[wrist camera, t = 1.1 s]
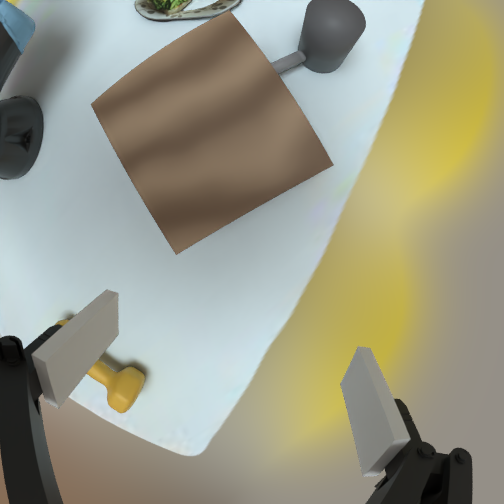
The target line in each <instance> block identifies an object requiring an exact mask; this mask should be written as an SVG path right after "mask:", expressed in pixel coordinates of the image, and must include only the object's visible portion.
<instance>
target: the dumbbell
mask: <svg viewBox="0 0 504 504" xmlns="http://www.w3.org/2000/svg"><path fill="white" fill-rule="evenodd" d="M68 321H70V320H61V321H58V322H57V323H56V324H55V325H57V324H60V325H62V326H64V325H65V324H66V323H67V322H68ZM87 374H88V375H89V376H91V377H92V378H93V379H95V380H96V381H98V382H100V383H102V384H103V385H104V386H105V387H106V388H107V392H108V394H107V401H108V404H109V406H110V407H111V408H113V409H114V410H116V411H117V412H119V413H124V412H126V411H127V410H129V409H130V408H131V406H132V405H133V404H134V402H135V400H136V399H137V397H138V395H139V394H140V392H141V390H142V387H143V385H144V382H145V376H144V374H143V373H142V372H140V371H139V370H137V369H136V368H134V367H126V368H125V369H123V370H122V371H120V372H115V371H113V370H112V369H110V368H109V367H108V366H107V365H106V364H104V363H103V362H101V361H100V360H99V359H98V360H97V361H96V363H95V364H94V365H93V366H92V367H91V369H90V370H89V371H88V372H87Z"/></svg>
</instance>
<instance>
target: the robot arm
mask: <svg viewBox="0 0 504 504" xmlns="http://www.w3.org/2000/svg"><path fill="white" fill-rule="evenodd" d="M34 31H35V22H34V21H33V20H32V19H31V18H30V17H29V16H28V15H26V14H25V13H24V12H22V11H21V10H19V9H18V8H17V7H15V6H14V5H12V4H11V3H9V2H7V1H6V0H0V91H1V89H2V87H3V86H4V84H5V82H6V80H7V78H8V76H9V74H10V72H11V71H12V69H13V67H14V65H15V64H16V62H17V60H18V58H19V57H20V55H22V54H23V52H24V48H25V46H26V45H27V43H28V41H29V40H30V38H31V36H32V35H33V33H34ZM42 134H43V118H42V113H41V109H40V107H39V105H38V103H37V102H36V101H35V100H34V99H33V98H31V97H26V96H14V97H11V98H9V99H5V100H1V101H0V179H4V180H11V179H17V178H20V177H22V176H23V175H25V174H26V173H27V172H28V171H29V169H30V168H31V166H32V165H33V163H34V161H35V159H36V157H37V155H38V152H39V149H40V145H41V140H42ZM118 335H119V332H118V293H116V292H113V291H110V290H105V291H104V292H103V293H102V294H101V295H99V296H98V297H97V298H96V299H95V300H93V301H92V302H91V303H90V304H89V305H87V306H86V307H85V308H84V309H83V310H81V311H80V312H79V313H78V314H77V315H75V316H74V317H73V318H72V319H71V320H70V321H68V322H67V323H66V324H65V325H64V326H62V325H60V324H57V325H54V326H52V327H49V328H48V329H47V330H46V331H45V332H43V334H41V335H40V336H39V337H38V338H36V339H35V340H34V341H33V342H32V343H31V344H29V345H28V346H27V347H26V348H25V349H24V350H23V346H22V342H21V340H20V339H19V338H17V337H15V336H4V337H2V338H0V449H1V458H2V466H3V472H4V479H5V484H6V490H7V494H8V499H9V504H63V501H62V498H61V495H60V492H59V489H58V486H57V482H56V479H55V475H54V472H53V468H52V464H51V460H50V456H49V452H48V447H47V442H46V437H45V432H44V426H43V420H42V414H41V407H40V402H39V396H40V395H41V394H42V393H43V395H44V398H45V401H46V402H47V403H49V404H51V405H53V406H54V407H56V408H58V409H59V408H60V406H61V405H62V404H63V403H64V401H65V400H66V399H67V398H68V396H69V395H70V394H71V392H72V391H73V390H74V389H75V387H76V386H77V385H78V384H79V382H80V381H81V380H82V379H83V377H84V376H85V375H86V374H87V372H88V371H89V370H90V369H91V367H92V366H93V365H94V364H95V363H96V361H97V360H98V359H99V358H100V356H101V355H102V354H103V353H104V352H105V350H106V349H107V348H108V347H109V346H110V344H111V343H112V342H113V341H114V340H115V338H116V337H117V336H118ZM340 385H341V389H342V392H343V396H344V400H345V403H346V408H347V411H348V415H349V420H350V424H351V428H352V431H353V436H354V440H355V444H356V449H357V453H358V457H359V462H360V467H361V471H362V476H363V477H364V476H378V475H379V474H380V473H381V471H383V469H384V468H385V472H386V476H385V477H384V478H383V479H382V480H381V481H380V482H379V483H378V484H377V485H375V487H377V488H376V489H375V491H374V492H373V494H372V496H371V497H370V498H369V500H368V501H367V503H366V504H472V458H471V455H470V454H469V452H467V451H466V450H464V449H462V448H455V449H453V450H452V451H451V453H450V454H449V455H448V454H442V453H436V450H435V449H434V447H433V446H431V445H430V444H429V443H426V442H422V440H421V438H420V435H419V433H418V431H417V429H416V426H415V424H414V422H413V421H412V417H411V415H409V414H410V413H409V411H408V409H407V406H406V405H405V404H404V403H403V402H402V401H401V400H400V399H394V398H393V396H392V394H391V392H390V389H389V387H388V385H387V383H386V381H385V378H384V376H383V374H382V372H381V370H380V368H379V366H378V363H377V361H376V359H375V357H374V355H373V353H372V351H371V349H370V348H366V347H358V348H357V350H356V352H355V354H354V356H353V359H352V361H351V363H350V365H349V367H348V369H347V371H346V373H345V376H344V377H343V380H342V382H341V384H340Z"/></svg>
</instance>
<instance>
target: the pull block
mask: <svg viewBox="0 0 504 504" xmlns="http://www.w3.org/2000/svg"><path fill="white" fill-rule="evenodd" d="M365 27H366V21H365V17H364V15H363V13H362V11H361V10H360V9H359V8H358V7H357V6H356V5H355V4H354V3H352V2H351V1H349V0H312V1H311V2H310V3H309V4H308V6H307V9H306V13H305V18H304V23H303V27H302V32H301V37H300V41H299V46H298V51H297V52H294V53H292V54H290V55H288V56H286V57H283V58H281V59H279V60H277V61H275V62H273V63H271V65H272V66H273V68H274V69H275V71H276V72H277V74H279V73H281V72H283V71H285V70H287V69H289V68H291V67H294V66H296V65H298V64H300V63H302V64H303V65H304V66H305V67H307V68H308V69H310V70H312V71H314V72H317V73H330V72H333V71H335V70H336V69H337V68H339V66H340V65H341V64H342V62H343V61H344V59H345V58H346V56H347V55H348V53H349V52H350V50H351V49H352V48H353V46H354V45H355V43H356V42H357V40H358V39H359V37H360V36H361V35H362V33H363V32H364V30H365Z"/></svg>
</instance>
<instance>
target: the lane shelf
mask: <svg viewBox="0 0 504 504" xmlns="http://www.w3.org/2000/svg"><path fill="white" fill-rule="evenodd" d="M91 106H92V108H93V110H94V112H95V114H96V116H97V118H98V120H99V122H100V124H101V126H102V128H103V129H104V131H105V133H106V135H107V137H108V139H109V141H110V143H111V145H112V147H113V148H114V150H115V152H116V154H117V156H118V158H119V159H120V161H121V163H122V165H123V167H124V168H125V170H126V172H127V174H128V176H129V177H130V179H131V181H132V183H133V184H134V186H135V188H136V190H137V191H138V193H139V195H140V196H141V198H142V200H143V202H144V203H145V205H146V207H147V208H148V210H149V212H150V213H151V215H152V217H153V218H154V220H155V222H156V223H157V225H158V227H159V228H160V230H161V231H162V233H163V235H164V236H165V238H166V239H167V241H168V243H169V244H170V246H171V247H172V249H173V251H174V252H175V254H176V255H177V254H178V253H180V252H182V251H183V250H185V249H187V248H188V247H190V246H192V245H193V244H195V243H197V242H198V241H200V240H202V239H203V238H205V237H207V236H209V235H210V234H212V233H214V232H215V231H217V230H219V229H220V228H222V227H224V226H226V225H227V224H229V223H231V222H232V221H234V220H236V219H238V218H239V217H241V216H243V215H245V214H246V213H248V212H250V211H252V210H253V209H255V208H257V207H259V206H260V205H262V204H264V203H266V202H267V201H269V200H271V199H273V198H275V197H276V196H278V195H280V194H282V193H284V192H285V191H287V190H289V189H291V188H293V187H294V186H296V185H298V184H300V183H302V182H303V181H305V180H307V179H309V178H311V177H313V176H314V175H316V174H318V173H320V172H322V171H324V170H326V169H327V168H329V167H331V166H333V163H332V161H331V159H330V158H329V156H328V154H327V152H326V150H325V149H324V147H323V145H322V143H321V142H320V140H319V138H318V137H317V135H316V133H315V131H314V130H313V128H312V126H311V125H310V123H309V121H308V120H307V118H306V117H305V115H304V113H303V112H302V110H301V108H300V107H299V105H298V104H297V102H296V101H295V99H294V97H293V96H292V94H291V93H290V91H289V90H288V88H287V87H286V85H285V84H284V82H283V81H282V79H281V78H280V76H279V75H278V74H277V72H276V71H275V69H274V68H273V66H272V65H271V64H270V62H269V61H268V59H267V58H266V57H265V55H264V54H263V52H262V51H261V50H260V48H259V47H258V46H257V44H256V43H255V42H254V40H253V39H252V38H251V36H250V35H249V34H248V33H247V31H246V30H245V29H244V27H243V26H242V25H241V24H240V22H239V21H238V20H237V19H236V18H235V16H234V15H233V14H232V13H231V11H230V10H229V11H227V12H225V13H223V14H221V15H219V16H217V17H215V18H213V19H211V20H209V21H207V22H206V23H204V24H202V25H200V26H198V27H197V28H195V29H193V30H191V31H190V32H188V33H186V34H185V35H183V36H181V37H180V38H178V39H176V40H175V41H173V42H172V43H170V44H169V45H167V46H165V47H164V48H162V49H161V50H159V51H158V52H156V53H155V54H154V55H152V56H151V57H149V58H148V59H146V60H145V61H144V62H142V63H141V64H139V65H138V66H137V67H135V68H134V69H133V70H131V71H130V72H129V73H128V74H126V75H125V76H124V77H122V78H121V79H120V80H119V81H117V82H116V83H115V84H114V85H112V86H111V87H110V88H109V89H108V90H107V91H105V92H104V93H103V94H102V95H101V96H100V97H98V98H97V99H96V100H95V101H94V102H93V103H92V104H91Z"/></svg>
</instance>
